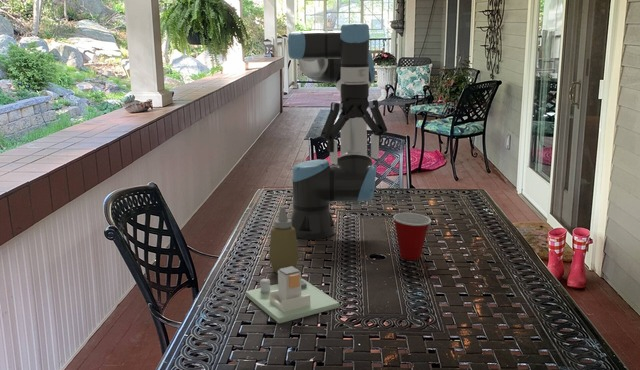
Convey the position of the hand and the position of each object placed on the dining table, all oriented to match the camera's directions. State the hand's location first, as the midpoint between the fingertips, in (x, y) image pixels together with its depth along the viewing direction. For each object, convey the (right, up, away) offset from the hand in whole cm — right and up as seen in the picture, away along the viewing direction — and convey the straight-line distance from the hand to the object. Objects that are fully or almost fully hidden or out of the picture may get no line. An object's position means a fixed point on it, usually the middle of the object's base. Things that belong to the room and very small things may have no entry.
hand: (354, 160), depth 176 cm
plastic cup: (+17, -27, +9) cm, 33 cm away
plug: (-17, -35, -25) cm, 46 cm away
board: (-16, -35, -21) cm, 44 cm away
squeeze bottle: (-19, -30, -1) cm, 36 cm away
